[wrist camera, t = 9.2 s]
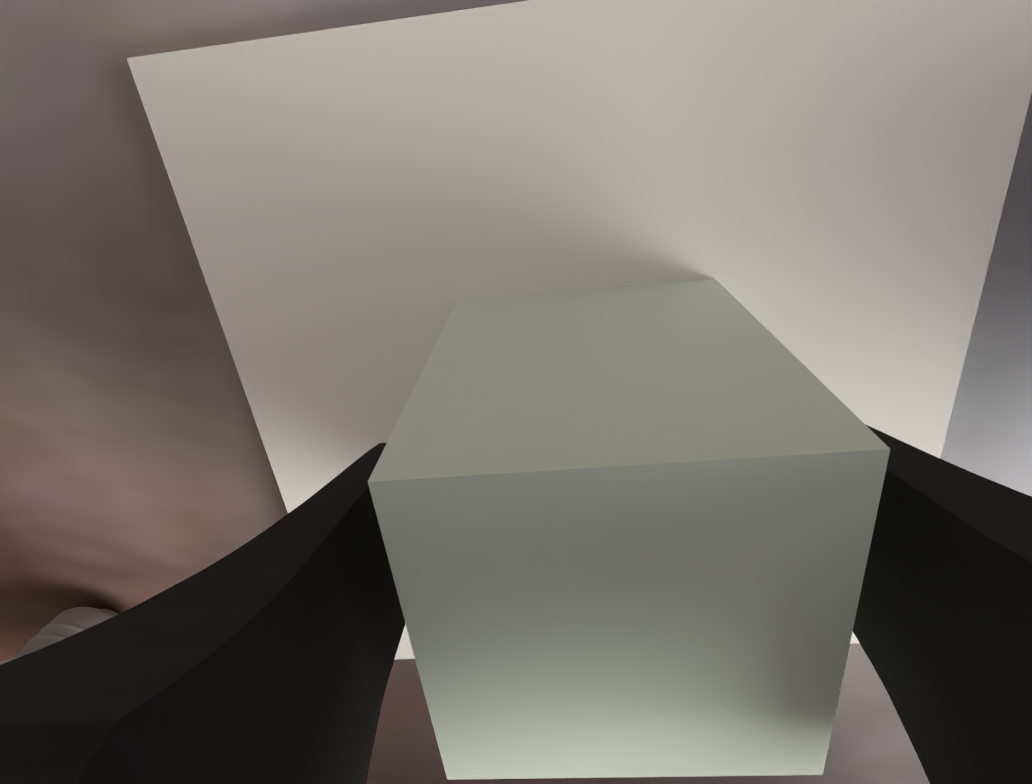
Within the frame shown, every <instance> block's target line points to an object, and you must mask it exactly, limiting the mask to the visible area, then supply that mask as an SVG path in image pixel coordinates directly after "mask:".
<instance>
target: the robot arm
mask: <svg viewBox="0 0 1032 784" xmlns="http://www.w3.org/2000/svg"><path fill="white" fill-rule="evenodd" d="M865 425H866V424H865ZM866 426H867V427H868V428H869V429H870V430H871V431H872V432H873V433H874V434H875V435H876V436H878V437H879V438H880V439H881V440H882V441H883V442H884V443H885V444H886V445H887V446H888V447H889V448H890V453H889V458H888V463H887V468H886V473H885V477H884V482H883V487H882V492H881V497H880V501H879V506H878V511H877V516H876V521H875V526H874V530H873V535H872V540H871V545H870V550H869V554H868V559H867V564H866V569H865V574H864V578H863V583H862V588H861V593H860V598H859V602H858V607H857V612H856V617H855V622H854V627H853V633H854V634H855V636H856V638H857V639H858V641H859V643H860V644H861V646H862V648H863V649H864V651H865V653H866V654H867V656H868V658H869V659H870V661H871V663H872V664H873V666H874V668H875V670H876V672H877V673H878V675H879V677H880V679H881V681H882V683H883V684H884V686H885V688H886V690H887V692H888V694H889V696H890V698H891V700H892V702H893V704H894V707H895V709H896V711H897V713H898V715H899V717H900V719H901V721H902V723H903V726H904V728H905V730H906V732H907V734H908V736H909V738H910V740H911V742H912V744H913V747H914V749H915V751H916V753H917V755H918V757H919V760H920V762H921V764H922V766H923V769H924V771H925V773H926V775H927V778H928V780H929V782H930V784H1032V497H1031V496H1028V495H1026V494H1023V493H1020V492H1018V491H1015V490H1013V489H1011V488H1008V487H1006V486H1003V485H1001V484H998V483H996V482H993V481H991V480H988V479H986V478H984V477H981V476H979V475H976V474H974V473H972V472H969V471H967V470H965V469H962V468H960V467H958V466H955V465H953V464H951V463H949V462H946V461H944V460H942V459H940V458H937V457H935V456H933V455H931V454H929V453H926V452H924V451H922V450H920V449H918V448H916V447H913V446H911V445H909V444H907V443H905V442H903V441H900V440H898V439H896V438H894V437H892V436H890V435H888V434H885V433H883V432H881V431H879V430H877V429H875V428H872V427H870V426H868V425H866ZM385 446H386V443H379V444H378V445H376V446H375V447H373V448H372V449H370V450H369V451H368V452H366V453H365V454H364V455H362V456H361V457H360V458H359V459H357V460H356V461H355V462H354V463H352V464H351V465H350V466H349V467H347V468H346V469H345V470H344V471H342V472H341V473H340V474H339V475H338V476H336V477H335V478H334V479H333V480H331V481H330V482H329V483H328V484H326V485H325V486H324V487H323V488H321V489H320V490H319V491H318V492H316V493H315V494H314V495H313V496H311V497H310V498H309V499H307V500H306V501H305V502H303V503H302V504H301V505H299V506H298V507H297V508H295V509H294V510H293V511H291V512H290V513H288V514H287V515H286V516H284V517H283V518H282V519H280V520H279V521H278V522H276V523H275V524H274V525H272V526H271V527H269V528H268V529H267V530H265V531H264V532H262V533H261V534H260V535H258V536H257V537H255V538H254V539H252V540H251V541H249V542H248V543H246V544H244V545H243V546H241V547H240V548H238V549H237V550H235V551H233V552H232V553H230V554H229V555H227V556H225V557H224V558H222V559H220V560H219V561H217V562H216V563H214V564H212V565H211V566H209V567H207V568H206V569H204V570H202V571H200V572H199V573H197V574H195V575H193V576H191V577H189V578H187V579H186V580H184V581H182V582H180V583H178V584H176V585H174V586H172V587H171V588H169V589H167V590H165V591H163V592H161V593H159V594H157V595H156V596H154V597H152V598H150V599H148V600H146V601H144V602H142V603H141V604H139V605H137V606H135V607H133V608H130V609H128V610H126V611H124V612H122V613H120V614H118V615H116V616H114V617H112V618H109V619H107V620H105V621H103V622H101V623H99V624H97V625H94V626H92V627H90V628H88V629H85V630H83V631H81V632H79V633H76V634H74V635H72V636H70V637H67V638H65V639H63V640H61V641H58V642H56V643H53V644H51V645H49V646H46V647H44V648H41V649H39V650H37V651H34V652H32V653H29V654H27V655H24V656H21V657H19V658H16V659H14V660H11V661H8V662H6V663H3V664H1V665H0V784H366V780H367V774H368V769H369V763H370V758H371V753H372V748H373V743H374V738H375V734H376V729H377V724H378V719H379V714H380V709H381V704H382V700H383V697H384V693H385V689H386V685H387V682H388V678H389V675H390V671H391V668H392V665H393V662H394V659H395V655H396V652H397V649H398V646H399V643H400V639H401V636H402V633H403V630H404V627H405V620H404V616H403V612H402V608H401V605H400V601H399V597H398V594H397V590H396V586H395V582H394V579H393V575H392V571H391V567H390V564H389V560H388V556H387V552H386V549H385V545H384V541H383V538H382V534H381V530H380V526H379V523H378V519H377V515H376V511H375V508H374V504H373V500H372V496H371V493H370V489H369V485H368V480H369V478H370V476H371V474H372V472H373V470H374V468H375V466H376V464H377V462H378V460H379V458H380V456H381V454H382V452H383V450H384V448H385Z"/></svg>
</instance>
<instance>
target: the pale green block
mask: <svg viewBox="0 0 1032 784" xmlns="http://www.w3.org/2000/svg"><path fill="white" fill-rule="evenodd" d="M889 453H890V448H889V447H888V446H887V445H886V444H885V443H884V442H883V441H882V440H881V439H880V438H879V437H878V436H876V435H875V434H874V433H873V432H872V431H871V430H870V429H869V428H868V427H867V426H866V425H865V424H864V423H863V422H862V421H861V420H860V419H859V418H858V417H857V416H856V415H855V414H854V413H853V412H852V411H851V410H850V409H849V408H848V407H847V406H846V405H845V404H844V403H843V402H842V401H840V400H839V399H838V398H837V397H836V396H835V395H834V394H833V393H832V392H831V391H830V390H829V389H828V388H827V387H826V386H825V385H824V384H823V383H822V382H821V381H820V380H819V379H818V378H817V377H816V376H815V375H814V374H813V373H812V372H811V371H810V370H809V369H808V368H807V367H806V366H804V365H803V364H802V363H801V362H800V361H799V360H798V359H797V358H796V357H795V356H794V355H793V354H792V353H791V352H790V351H789V350H788V349H787V348H786V347H785V346H784V345H783V344H782V343H781V342H780V341H779V340H778V339H777V338H776V337H775V336H774V335H773V334H772V333H771V332H770V331H769V330H767V329H766V328H765V327H764V326H763V325H762V324H761V323H760V322H759V321H758V320H757V319H756V318H755V317H754V316H753V315H752V314H751V313H750V312H749V311H748V310H747V309H746V308H745V307H744V306H743V305H742V304H741V303H740V302H739V301H738V300H737V299H736V298H735V297H734V296H733V295H731V294H730V293H729V292H728V291H727V290H726V289H725V288H724V287H723V286H722V285H721V284H720V283H719V282H718V281H717V280H716V279H705V280H694V281H683V282H672V283H661V284H650V285H640V286H629V287H618V288H607V289H596V290H585V291H574V292H563V293H553V294H542V295H531V296H520V297H509V298H498V299H487V300H476V301H465V302H456V303H455V305H454V307H453V309H452V311H451V313H450V315H449V317H448V319H447V321H446V323H445V325H444V327H443V329H442V332H441V334H440V336H439V338H438V340H437V342H436V344H435V346H434V348H433V350H432V352H431V354H430V356H429V358H428V360H427V362H426V364H425V366H424V368H423V370H422V372H421V374H420V376H419V378H418V380H417V382H416V384H415V386H414V389H413V391H412V393H411V395H410V397H409V399H408V401H407V403H406V405H405V407H404V409H403V411H402V413H401V415H400V417H399V419H398V421H397V423H396V425H395V427H394V429H393V431H392V433H391V435H390V437H389V439H388V441H387V443H386V446H385V448H384V450H383V452H382V454H381V456H380V458H379V460H378V462H377V464H376V466H375V468H374V470H373V472H372V474H371V476H370V478H369V480H368V485H369V489H370V493H371V496H372V500H373V504H374V508H375V511H376V515H377V519H378V523H379V526H380V530H381V534H382V538H383V541H384V545H385V549H386V552H387V556H388V560H389V564H390V567H391V571H392V575H393V579H394V582H395V586H396V590H397V594H398V597H399V601H400V605H401V608H402V612H403V616H404V620H405V623H406V627H407V631H408V635H409V638H410V642H411V646H412V650H413V653H414V657H415V661H416V664H417V668H418V672H419V676H420V679H421V683H422V687H423V691H424V694H425V698H426V702H427V706H428V709H429V713H430V717H431V720H432V724H433V728H434V732H435V735H436V739H437V743H438V747H439V750H440V754H441V758H442V762H443V765H444V769H445V773H446V776H447V780H455V779H534V778H613V777H692V776H771V775H823V771H824V766H825V761H826V756H827V752H828V747H829V742H830V737H831V732H832V728H833V723H834V718H835V713H836V708H837V704H838V699H839V694H840V689H841V684H842V679H843V675H844V670H845V665H846V660H847V655H848V651H849V646H850V641H851V636H852V631H853V627H854V622H855V617H856V612H857V607H858V602H859V598H860V593H861V588H862V583H863V578H864V574H865V569H866V564H867V559H868V554H869V550H870V545H871V540H872V535H873V530H874V526H875V521H876V516H877V511H878V506H879V501H880V497H881V492H882V487H883V482H884V477H885V473H886V468H887V463H888V458H889Z"/></svg>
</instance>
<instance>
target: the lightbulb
mask: <svg viewBox="0 0 1032 784" xmlns="http://www.w3.org/2000/svg"><path fill="white" fill-rule="evenodd" d="M116 615H118V613H116V612H114V611H112V610H109V609H97V608H92V607H76V608H72V609H68V610H65V611H63V612H61V613H60V614H59V615H57V616H56V617H55V618H54V619H53V620H52V621H51V622H50V623H49V624H48V625H46V626H44V627H43V628H42V629H41V630H40V631H39V632H38V634H37V635H36V636H34V637H32V638H31V639H30V640H29V641H28V642H27V643H26V645H25V646H24V647H23V648H22V649H21V650H20V651H18V652H17V653H16V654H15V655H14V656H13V657H12V658H9V659H5V660H2V661H0V665H1V664H3V663H6V662H8V661H11V660H14V659H16V658H19V657H21V656H24V655H27V654H29V653H32V652H34V651H37V650H39V649H41V648H44V647H46V646H49V645H51V644H53V643H56V642H58V641H61V640H63V639H65V638H67V637H70V636H72V635H74V634H76V633H79V632H81V631H83V630H85V629H88V628H90V627H92V626H94V625H97V624H99V623H101V622H103V621H105V620H107V619H109V618H112V617H114V616H116Z"/></svg>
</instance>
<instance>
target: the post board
mask: <svg viewBox="0 0 1032 784" xmlns="http://www.w3.org/2000/svg"><path fill="white" fill-rule="evenodd" d="M127 61H128V64H129V67H130V69H131V72H132V75H133V78H134V81H135V83H136V86H137V89H138V92H139V95H140V98H141V100H142V103H143V106H144V109H145V112H146V114H147V117H148V120H149V123H150V126H151V129H152V131H153V134H154V137H155V140H156V143H157V145H158V148H159V151H160V154H161V157H162V160H163V162H164V165H165V168H166V171H167V174H168V176H169V179H170V182H171V185H172V188H173V191H174V193H175V196H176V199H177V202H178V205H179V207H180V210H181V213H182V216H183V219H184V222H185V224H186V227H187V230H188V233H189V236H190V239H191V241H192V244H193V247H194V250H195V253H196V255H197V258H198V261H199V264H200V267H201V270H202V272H203V275H204V278H205V281H206V284H207V286H208V289H209V292H210V295H211V298H212V301H213V303H214V306H215V309H216V312H217V315H218V317H219V320H220V323H221V326H222V329H223V332H224V334H225V337H226V340H227V343H228V346H229V348H230V351H231V354H232V357H233V360H234V363H235V365H236V368H237V371H238V374H239V377H240V379H241V382H242V385H243V388H244V391H245V394H246V396H247V399H248V402H249V405H250V408H251V410H252V413H253V416H254V419H255V422H256V425H257V427H258V430H259V433H260V436H261V439H262V441H263V444H264V447H265V450H266V453H267V456H268V458H269V461H270V464H271V467H272V470H273V472H274V475H275V478H276V481H277V484H278V487H279V489H280V492H281V495H282V498H283V501H284V504H285V506H286V509H287V512H288V513H290V512H291V511H293V510H294V509H295V508H297V507H298V506H299V505H301V504H302V503H303V502H305V501H306V500H307V499H309V498H310V497H311V496H313V495H314V494H315V493H316V492H318V491H319V490H320V489H321V488H323V487H324V486H325V485H326V484H328V483H329V482H330V481H331V480H333V479H334V478H335V477H336V476H338V475H339V474H340V473H341V472H342V471H344V470H345V469H346V468H347V467H349V466H350V465H351V464H352V463H354V462H355V461H356V460H357V459H359V458H360V457H361V456H362V455H364V454H365V453H366V452H368V451H369V450H370V449H372V448H373V447H375V446H376V445H378V444H379V443H387V441H388V439H389V437H390V435H391V433H392V431H393V429H394V427H395V425H396V423H397V421H398V419H399V417H400V415H401V413H402V411H403V409H404V407H405V405H406V403H407V401H408V399H409V397H410V395H411V393H412V391H413V389H414V386H415V384H416V382H417V380H418V378H419V376H420V374H421V372H422V370H423V368H424V366H425V364H426V362H427V360H428V358H429V356H430V354H431V352H432V350H433V348H434V346H435V344H436V342H437V340H438V338H439V336H440V334H441V332H442V329H443V327H444V325H445V323H446V321H447V319H448V317H449V315H450V313H451V311H452V309H453V307H454V305H455V303H456V302H465V301H476V300H487V299H498V298H509V297H520V296H531V295H542V294H553V293H563V292H574V291H585V290H596V289H607V288H618V287H629V286H640V285H650V284H661V283H672V282H683V281H694V280H705V279H716V280H717V281H718V282H719V283H720V284H721V285H722V286H723V287H724V288H725V289H726V290H727V291H728V292H729V293H730V294H731V295H733V296H734V297H735V298H736V299H737V300H738V301H739V302H740V303H741V304H742V305H743V306H744V307H745V308H746V309H747V310H748V311H749V312H750V313H751V314H752V315H753V316H754V317H755V318H756V319H757V320H758V321H759V322H760V323H761V324H762V325H763V326H764V327H765V328H766V329H767V330H769V331H770V332H771V333H772V334H773V335H774V336H775V337H776V338H777V339H778V340H779V341H780V342H781V343H782V344H783V345H784V346H785V347H786V348H787V349H788V350H789V351H790V352H791V353H792V354H793V355H794V356H795V357H796V358H797V359H798V360H799V361H800V362H801V363H802V364H803V365H804V366H806V367H807V368H808V369H809V370H810V371H811V372H812V373H813V374H814V375H815V376H816V377H817V378H818V379H819V380H820V381H821V382H822V383H823V384H824V385H825V386H826V387H827V388H828V389H829V390H830V391H831V392H832V393H833V394H834V395H835V396H836V397H837V398H838V399H839V400H840V401H842V402H843V403H844V404H845V405H846V406H847V407H848V408H849V409H850V410H851V411H852V412H853V413H854V414H855V415H856V416H857V417H858V418H859V419H860V420H861V421H862V422H863V423H864V424H866V425H868V426H870V427H872V428H875V429H877V430H879V431H881V432H883V433H885V434H888V435H890V436H892V437H894V438H896V439H898V440H900V441H903V442H905V443H907V444H909V445H911V446H913V447H916V448H918V449H920V450H922V451H924V452H926V453H929V454H931V455H933V456H935V457H937V458H940V457H941V453H942V449H943V445H944V441H945V437H946V433H947V429H948V425H949V421H950V417H951V413H952V409H953V405H954V401H955V397H956V393H957V389H958V385H959V381H960V377H961V373H962V369H963V365H964V361H965V357H966V353H967V349H968V345H969V341H970V337H971V333H972V329H973V325H974V321H975V317H976V313H977V309H978V305H979V301H980V297H981V293H982V289H983V285H984V281H985V277H986V273H987V269H988V265H989V261H990V257H991V253H992V249H993V245H994V241H995V237H996V234H997V230H998V226H999V222H1000V218H1001V214H1002V210H1003V206H1004V202H1005V198H1006V194H1007V190H1008V186H1009V182H1010V178H1011V174H1012V170H1013V166H1014V162H1015V158H1016V154H1017V150H1018V146H1019V142H1020V138H1021V134H1022V130H1023V126H1024V122H1025V118H1026V114H1027V110H1028V106H1029V102H1030V98H1031V94H1032V0H527V1H521V2H514V3H507V4H500V5H493V6H486V7H479V8H472V9H465V10H458V11H451V12H444V13H437V14H430V15H423V16H416V17H409V18H402V19H395V20H388V21H381V22H374V23H367V24H360V25H353V26H346V27H339V28H332V29H325V30H319V31H312V32H305V33H298V34H291V35H284V36H277V37H270V38H263V39H256V40H249V41H242V42H235V43H228V44H221V45H214V46H207V47H200V48H193V49H186V50H179V51H172V52H165V53H158V54H151V55H144V56H137V57H130V58H127ZM851 643H859V641H858V639H857V638H856V636H855V634H854V633H853V631H852V636H851V641H850V644H851ZM395 659H415V657H414V653H413V650H412V646H411V642H410V638H409V635H408V631H407V627H406V623H405V627H404V630H403V633H402V636H401V639H400V643H399V646H398V649H397V652H396V655H395Z"/></svg>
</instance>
